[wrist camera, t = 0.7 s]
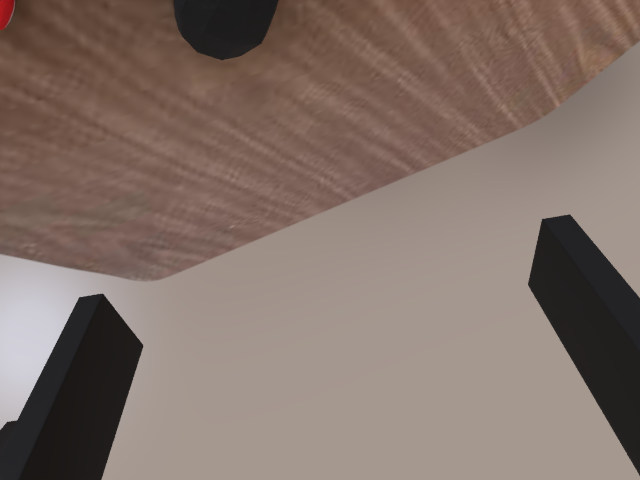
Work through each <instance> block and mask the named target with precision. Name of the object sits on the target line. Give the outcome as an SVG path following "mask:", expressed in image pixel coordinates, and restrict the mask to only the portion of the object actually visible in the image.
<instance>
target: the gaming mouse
mask: <svg viewBox="0 0 640 480" xmlns="http://www.w3.org/2000/svg"><path fill="white" fill-rule="evenodd" d="M277 3H278V0H174V8H175V17H176V21H177V26H178V29H179V31H180V33H181V35H182V37H183V38H184V39H185V40H186V41H187V42H188V43H189V44H190V45H191V46H192V47H193V48H194V49H195V50H196V51H197V52H198V53H202V54H205V55H208V56H211V57H214V58H217V59H220V60H224V59H229V58H234V57H238V56H241V55H243V54H245V53H246V52H248V51H250V50H251V49H253V48H255V47H256V46H258V45H259V44H261V43H262V41H263V39H264V38H265V36H266V33H267V31H268V28H269V26H270V23H271V21H272V19H273V16H274V14H275V10H276V7H277Z"/></svg>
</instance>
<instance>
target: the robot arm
mask: <svg viewBox="0 0 640 480" xmlns="http://www.w3.org/2000/svg"><path fill="white" fill-rule="evenodd" d="M528 285H529V287H530V289H531V291H532V292H533V294H534V296H535V298H536V299H537V301H538V302H539V304H540V306H541V308H542V309H543V311H544V313H545V314H546V316H547V318H548V320H549V321H550V323H551V325H552V327H553V328H554V330H555V332H556V333H557V335H558V337H559V338H560V340H561V342H562V344H563V345H564V347H565V349H566V351H567V352H568V354H569V355H570V357H571V359H572V361H573V362H574V364H575V366H576V368H577V369H578V371H579V373H580V374H581V376H582V378H583V379H584V381H585V383H586V385H587V386H588V388H589V390H590V391H591V393H592V395H593V396H594V398H595V400H596V402H597V403H598V405H599V407H600V408H601V410H602V412H603V414H604V415H605V417H606V419H607V420H608V422H609V424H610V426H611V427H612V429H613V431H614V432H615V434H616V436H617V437H618V439H619V441H620V443H621V444H622V446H623V448H624V449H625V451H626V453H627V455H628V456H629V458H630V460H631V461H632V463H633V465H634V467H635V468H636V470H637V472H638V473H639V475H640V298H639V297H638V295H637V294H636V293H635V292H634V291H633V290H632V288H631V287H630V286H629V285H628V283H627V282H626V281H625V280H624V279H623V277H622V276H621V275H620V274H619V273H618V272H617V270H616V269H615V268H614V267H613V265H612V264H611V263H610V262H609V261H608V259H607V258H606V257H605V256H604V255H603V253H602V252H601V251H600V250H599V249H598V247H597V246H596V245H595V244H594V243H593V241H592V240H591V239H590V238H589V237H588V236H587V234H586V233H585V232H584V231H583V229H582V228H581V227H580V226H579V225H578V223H577V222H576V221H575V220H574V219H573V217H572V216H571V215H564V216H559V217H553V218H546V219H542V222H541V227H540V231H539V236H538V241H537V245H536V250H535V255H534V259H533V264H532V269H531V273H530V278H529V282H528ZM142 349H143V344H142V343H141V342H140V340H139V339H138V338H137V337H136V335H135V334H134V333H133V332H132V330H131V329H130V328H129V327H128V325H127V324H126V323H125V321H124V320H123V319H122V317H121V316H120V315H119V314H118V312H117V311H116V310H115V308H114V307H113V306H112V305H111V304H110V302H109V301H108V300H107V298H106V297H105V296H104V294H97V295H91V296H86V297H79V299H78V301H77V303H76V305H75V307H74V309H73V311H72V313H71V315H70V317H69V319H68V321H67V323H66V325H65V327H64V329H63V331H62V333H61V335H60V337H59V339H58V341H57V343H56V345H55V347H54V349H53V351H52V353H51V355H50V357H49V359H48V361H47V363H46V364H45V366H44V369H43V370H42V373H41V375H40V376H39V378H38V380H37V382H36V384H35V386H34V388H33V390H32V392H31V394H30V396H29V398H28V400H27V402H26V404H25V406H24V408H23V410H22V412H21V414H20V416H19V418H18V420H17V421H11V422H7V423H6V424H5V425H4V426H3V428H2V429H1V430H0V480H101V479H102V476H103V473H104V469H105V466H106V463H107V460H108V457H109V453H110V450H111V447H112V443H113V441H114V438H115V434H116V431H117V428H118V425H119V422H120V418H121V415H122V412H123V409H124V405H125V402H126V399H127V396H128V393H129V390H130V387H131V384H132V380H133V377H134V374H135V371H136V368H137V364H138V361H139V358H140V355H141V352H142Z"/></svg>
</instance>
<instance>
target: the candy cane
mask: <svg viewBox="0 0 640 480" xmlns="http://www.w3.org/2000/svg"><path fill="white" fill-rule="evenodd" d="M14 9H15V0H0V30H2V29H4V28H5V27H6V26H7V25H8V24H9V22H10V20H11V18H12V15H13V12H14Z"/></svg>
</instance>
